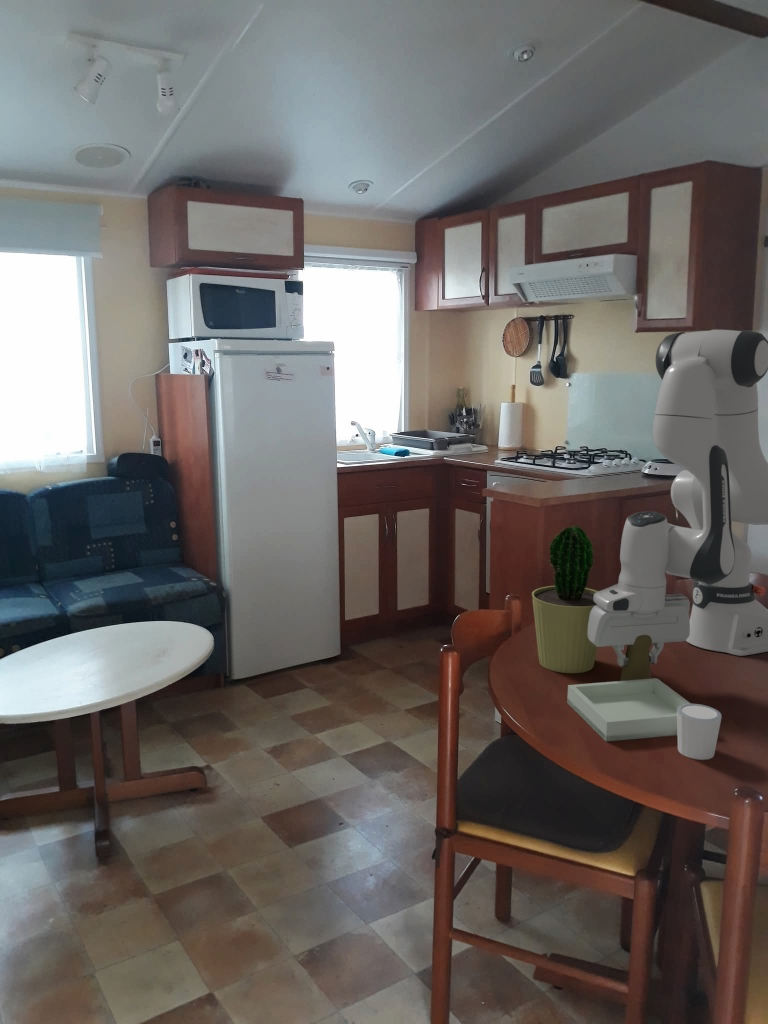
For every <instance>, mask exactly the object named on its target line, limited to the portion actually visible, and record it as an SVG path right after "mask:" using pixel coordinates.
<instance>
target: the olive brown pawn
mask: <svg viewBox="0 0 768 1024" xmlns="http://www.w3.org/2000/svg"><path fill="white" fill-rule="evenodd" d="M652 645H653V644H652V639H651V637H650V636H648V635H640V636H638V637H637V638H636V639H635V642H634V644H633V645H626V649H625V654H624V655H625V656H626V657H628V658H629V659H628V666H622V669H621V674H620V679H619V681H628V680H641V679H652V673H651V664H650V658H649V653H650V647H652Z"/></svg>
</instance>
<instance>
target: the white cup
mask: <svg viewBox="0 0 768 1024" xmlns="http://www.w3.org/2000/svg"><path fill="white" fill-rule="evenodd" d="M721 721H722V713H721V712H720V711H719V710H718V709H716V708H713V707H711V706H709V705H704V704H700V703H699V704H698V703H691V704H684V705H680V706H679V707H678V708H677V735H676V736H677V751H678V752H679V753H680V754H681V755H682V756H685V757H687V758H688V759H689V758H690V759H693V760H700V761H705V760H710V759H713V758H714V756H715V753H716V749H717V748H716V747H717V743H718V739H719V738H718V737H719V731H720V728H721Z"/></svg>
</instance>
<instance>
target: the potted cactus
mask: <svg viewBox="0 0 768 1024" xmlns="http://www.w3.org/2000/svg"><path fill="white" fill-rule="evenodd" d="M584 526H585V525H583V526H582V527H579V526H576V525H574V524H571V525H570V526H568V527H564V528H562V529H560V532H559V534H555V536H554V537H553V539H552V541H551V542H550V541H549V540H547V541H546V543H549V542H550V544H549V545H550V547H549V548H548V550H549V554H548V557H550V558H549V560H546V562H549V561H550V563H548V566H549V567H553V568H550V571H551V570H553V571H552V572H551V573H554V578H553V579H552V581H554V585H548V586H543V587H539V588H536V589H534V590H533V591H532V592H531V597H532V608H533V618H534V627H535V634H536V644H537V653H538V661H539V664H540V665H541V666H542V667H543V668H545V669H547V670H550V671H552V672H557V673H562V674H563V673H564V674H581V673H586V672H589V671H591V670H593V668H594V666H595V663H596V662H595V661H596V657H597V656H596V655H597V652H598V648H599V647H597V646H595V645H594V644H593V643H591V642H590V640H589V639H588V636H587V631H588V622H589V616H590V612H591V610H592V608H593V607H594V606H595V605H597V604H596V603H595V602H594V601H593V596H594V594H595V593H596V592H598V591H599V590H595V589H591V588H590V587H589V588H588V584H590V579H589V574H590V573H592V570H594V567H593V566H594V564H595V562H597V561H593V560H594V555H593V554H594V552H595V551H596V549H594V548H593V542H594V539H592V540H591V539H590V537H589V536H590V535H587V533H586V532H585V530H584V529H583V527H584ZM553 532H554V531H553ZM554 533H555V532H554ZM593 575H594V576H595V575H596V574H594V573H593ZM552 581H551V582H552ZM588 581H589V582H588Z"/></svg>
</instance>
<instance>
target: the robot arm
mask: <svg viewBox="0 0 768 1024" xmlns="http://www.w3.org/2000/svg"><path fill="white" fill-rule="evenodd" d="M655 367H656V372H657V373H658V375H659V377H660V379H661V384H660V386H659V387H660V388H659V391H658V395H657V400H656V403H655V404H656V406H655V411H654V418H653V426H652V440H653V443H654V445H655V448H656V449H657V450H658V452H659V453H660V454H661V455H662V456H663V457H664V458H665V459H666V460H668V461H669V462H671V463H673V464H675V465H676V466H679V467H680V468H682V469H684V470H681V471H680V472H679V473H678V474H677V475H676V477H674V479H673V481H672V484H671V488H670V498H671V502H672V504H673V506H674V507H675V508H676V510H678V511H679V513H680V514H682V515H683V517H684V518H685V519H686V521H687V522H688V524H689V526H690V527H684V526H679V525H675V524H672V523H668V519H667V516H666V515H664V514H663V513H661V512H656V511H646V510H645V511H638V512H635V513H632V514H631V515H629V516H628V517H627V518H626V520H625V523H624V526H623V530H622V535H621V541H620V542H621V544H620V553H619V560H620V565H621V566H620V567H621V568H620V569H621V570H620V573H619V576H618V583H616V584H614V585H611V586H609V587H606V588H604V589H601V590H597V591H598V592H596V593H595V594H594V596H593V601H594V602H595V603H596V604H597V605H595V606H594V607H593V608H592V610H591V612H590V616H589V622H588V631H587V636H588V639H589V640H590V642H591V643H593V644H594V645H595V646H597V647H598V648H600V647H603V648H605V647H612V649H613V650H614V652H615V654H616V656H617V657H616V658H617V659H616V663H617V665H618V666H619V667H623V666H628V659H629V658H628V657H626V656H625V654H624V653H623V651H624V650H625V646H627V645H633V644H634V642H635V639H636V638H637V637H638V636H640V635H648V636H650V637H651V639H652V645H653V646H652V647H651V650H650V651H649V658H650V665H655V664H657V663H658V656H659V655H660V654H661V652H662V651H663V649H664V645H665V643H675V642H677V643H678V642H686V643H688V644H690V645H693V646H695V647H698V648H700V649H705V650H709V651H714V652H721V653H727V654H730V655H734V656H740V657H744V656H749V655H755V654H761V653H765V652H768V608H766V607H765V606H764V605H763V604H762V603H761V602H759V601H758V600H757V599H756V596H755V594H757V595H758V596H759V597H760V596H761V597H763V596H764V595H765V594H766V591H767V590H766V588H765V587H763V586H761V585H759V584H756V585H754V584H753V583H752V582H750V577H751V566H752V556H753V553H752V551H751V549H750V546H749V545H748V543H747V542H746V541H745V540H743V539H742V538H740V537H739V536H737V534H735V532H734V531H733V529H732V522H733V523H741V524H747V525H754V526H764V525H765V526H766V525H768V461H767V459H766V457H765V456H764V454H763V451H762V448H761V443H760V435H759V391H758V384H757V383H759V382H760V381H761V379H763V378H764V377H765V375H766V374H767V372H768V340H767V338H766V337H765V336H764V334H763V333H761V332H758V331H754V330H749V329H747V330H746V329H744V330H742V331H741V330H732V329H711V330H699V331H690V332H684V331H681V332H675V333H671V334H669V335H667V336H665V337H664V338H663V340H661V342H660V343H659V344H658V347H657V349H656V353H655ZM666 574H668V575H672V576H677V577H682V578H686V579H691V580H692V581H693V585H692V607H691V613H690V606H691V601H690V600H689V598H688V597H687V596H685V595H684V594H682V593H677V594H676V593H675V594H666V592H667V578H666Z"/></svg>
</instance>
